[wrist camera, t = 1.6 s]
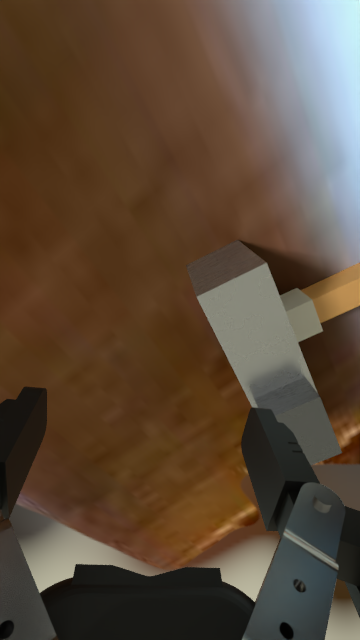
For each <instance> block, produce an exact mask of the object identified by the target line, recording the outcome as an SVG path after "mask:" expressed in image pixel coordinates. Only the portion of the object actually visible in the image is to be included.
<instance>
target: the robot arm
mask: <svg viewBox="0 0 360 640" xmlns="http://www.w3.org/2000/svg"><path fill="white" fill-rule="evenodd" d="M46 424H47V390H46V388H35V387H24V388H23V389H22V391H21V393H20V394H19V396H18V397H17V399H16V400H13V399H6V400H5V401H4V402H2V403H1V404H0V640H325V635H326V630H327V625H328V620H329V615H330V610H331V604H332V599H333V594H334V588H335V583H336V579H340V580H342V581H345V583H346V586H347V588H348V590H349V593H350V595H351V598H352V600H353V603H354V605H355V607H356V610H357V612H358V615H359V617H360V511H357V510H355V509H352V508H349V507H346V506H344V504H343V502H342V500H341V499H340V498H339V496H338V495H337V494H336V493H335V492H334V491H332V490H331V489H329V488H328V487H326V486H324V485H322V484H320V482H319V481H318V479H317V477H316V475H315V473H314V471H313V469H312V467H311V465H310V463H309V462H308V460H307V458H306V456H305V454H304V453H303V450H302V448H301V447H300V445H298V441H297V439H296V437H295V435H294V433H293V432H292V431H291V430H290V429H289V428H288V427H287V426H286V425H285V424H284V423H280V422H278V421H277V419H276V417H275V415H274V413H273V411H272V410H271V409H266V408H255V407H252V408H251V409H250V412H249V415H248V419H247V422H246V425H245V429H244V432H243V436H242V442H241V447H242V453H243V457H244V460H245V463H246V466H247V469H248V473H249V476H250V479H251V482H252V486H253V489H254V492H255V495H256V498H257V502H258V505H259V508H260V511H261V514H262V518H263V521H264V524H265V527H266V530H267V531H278V532H279V535H280V541H279V543H278V545H277V548H276V551H275V553H274V556H273V558H272V561H271V564H270V566H269V568H268V571H267V573H266V576H265V579H264V581H263V583H262V586H261V588H260V591H259V594H258V596H257V599H256V601H255V602H254V601H253V600H252V599H251V598H249V597H248V596H247V595H246V594H245V593H243V592H242V591H240V590H239V589H237V588H236V587H234V586H232V585H230V584H227V583H225V582H222V579H221V573H220V568H195V567H185V568H181V569H178V570H174V571H170V572H166V573H163V574H159V575H155V576H145V575H141V574H138V573H135V572H132V571H129V570H126V569H123V568H120V567H116V566H113V565H82V564H76V566H75V571H74V576H73V578H69V579H66V580H63V581H61V582H58V583H56V584H54V585H52V586H50V587H48V588H47V589H45V590H44V591H42V592H41V593H39V591H38V589H37V586H36V584H35V581H34V579H33V576H32V574H31V571H30V569H29V566H28V564H27V562H26V559H25V557H24V554H23V552H22V549H21V547H20V544H19V542H18V540H17V537H16V534H15V532H14V529H13V527H12V525H11V523H10V521H9V517H10V514H11V513H12V510H13V508H14V505H15V503H16V501H17V498H18V496H19V494H20V491H21V489H22V487H23V484H24V482H25V480H26V477H27V475H28V473H29V470H30V468H31V466H32V463H33V461H34V459H35V456H36V454H37V452H38V449H39V447H40V445H41V442H42V440H43V437H44V434H45V430H46ZM4 518H6V519H4Z"/></svg>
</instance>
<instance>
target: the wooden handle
mask: <svg viewBox="0 0 360 640" xmlns="http://www.w3.org/2000/svg"><path fill="white" fill-rule="evenodd" d="M280 298H281V301H282V303H283V306H284V308H285V311H286V313H287V316H288V318H289V321H290V324H291V326H292V329H293V331H294V334H295V336H296V339H297V341H298V342H300V341H302V340H304V339H307V338H309V337H311V336H313V335H316V334H318V333H320V332H322V331H323V329H322V326H321V324H320V323H322V322H324V321H327V320H329V319H331V318H333V317H335V316H338V315H340V314H342V313H344V312H346V311H349V310H351V309H353V308H355V307H357V306H360V263H358V264H356V265H353V266H351V267H349V268H347V269H345V270H343V271H341V272H339V273H336V274H334V275H332V276H330V277H328V278H326V279H324V280H322V281H319V282H317V283H315V284H313V285H311V286H309V287H307V288H305V289H302V290H299V289H298V288H295V289H293V290H291V291H289V292H287V293H285V294H282V295H280Z"/></svg>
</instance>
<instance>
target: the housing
mask: <svg viewBox="0 0 360 640" xmlns="http://www.w3.org/2000/svg"><path fill="white" fill-rule="evenodd" d="M186 267H187V270H188V273H189V276H190V279H191V282H192V285H193V288H194V291H195V294H196V297H197V299H198V301H199V303H200V305H201V307H202V309H203V310H204V312H205V314H206V316H207V318H208V320H209V322H210V324H211V326H212V328H213V330H214V332H215V334H216V336H217V338H218V340H219V342H220V344H221V346H222V348H223V350H224V352H225V354H226V356H227V358H228V360H229V362H230V364H231V366H232V368H233V370H234V372H235V374H236V376H237V378H238V380H239V382H240V384H241V386H242V388H243V390H244V392H245V394H246V396H247V398H248V400H249V402H250V404H251V406H252V407H255V408H266V409H271V410H272V411H273V413H274V415H275V417H276V419H277V421H278V422H280V423H284V424H285V425H286V426H287V427H288V428H289V429H290V430H291V431H292V432H293V433H294V435H295V437H296V439H297V441H298V445H300V447H301V448H302V450H303V453H304V454H305V456H306V458H307V460H308V462H309V463H310V465H313V464H315V463H318V462H320V461H323V460H325V459H328V458H330V457H333V456H335V455H338V454H340V453H342V452H341V449H340V447H339V444H338V442H337V439H336V436H335V434H334V431H333V429H332V426H331V424H330V421H329V418H328V416H327V413H326V411H325V408H324V406H323V403H322V400H321V398H320V396H319V395H318V393H317V390H316V388H315V385H314V382H313V380H312V377H311V375H310V372H309V370H308V367H307V364H306V362H305V359H304V357H303V354H302V352H301V349H300V347H299V344H298V341H297V339H296V336H295V334H294V331H293V329H292V326H291V324H290V321H289V318H288V316H287V313H286V311H285V308H284V306H283V303H282V301H281V298H280V295H279V293H278V290H277V288H276V285H275V283H274V280H273V278H272V275H271V272H270V270H269V267H268V265H267V263H266V262H265V261H264V260H263V259H261V258H260V257H259V256H258V255H256V254H255V253H254V252H252V251H251V250H250V249H249V248H247V247H246V246H245V245H244V244H242V243H241V242H240V241H239V240H236V241H234V242H232V243H230V244H228V245H226V246H224V247H222V248H220V249H218V250H216V251H214V252H212V253H210V254H208V255H206V256H204V257H202V258H200V259H198V260H196V261H194V262H192V263H190V264H188V265H186Z"/></svg>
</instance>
